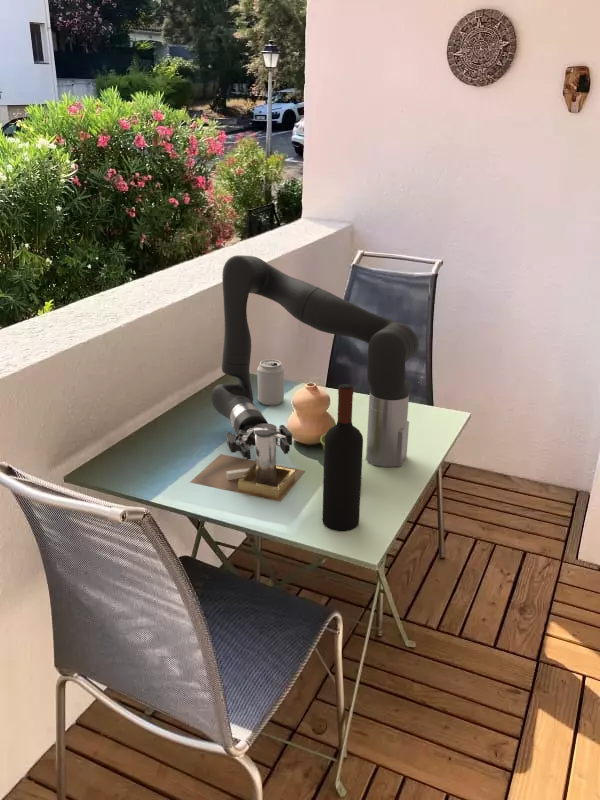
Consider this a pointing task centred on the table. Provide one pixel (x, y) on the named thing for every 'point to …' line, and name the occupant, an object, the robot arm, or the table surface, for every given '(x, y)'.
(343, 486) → the wine bottle
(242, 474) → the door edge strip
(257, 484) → the keeper
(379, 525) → the table surface
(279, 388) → the can
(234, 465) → the board
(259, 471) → the silver cylindrical piece
